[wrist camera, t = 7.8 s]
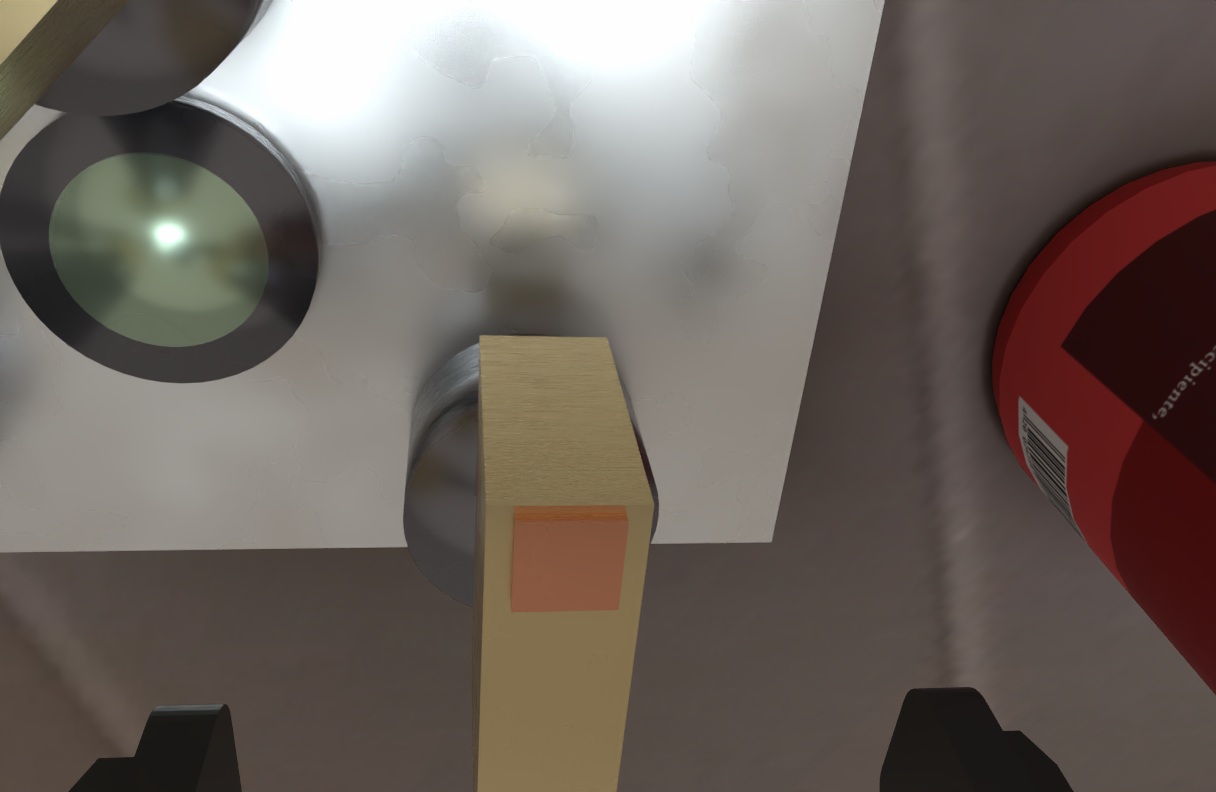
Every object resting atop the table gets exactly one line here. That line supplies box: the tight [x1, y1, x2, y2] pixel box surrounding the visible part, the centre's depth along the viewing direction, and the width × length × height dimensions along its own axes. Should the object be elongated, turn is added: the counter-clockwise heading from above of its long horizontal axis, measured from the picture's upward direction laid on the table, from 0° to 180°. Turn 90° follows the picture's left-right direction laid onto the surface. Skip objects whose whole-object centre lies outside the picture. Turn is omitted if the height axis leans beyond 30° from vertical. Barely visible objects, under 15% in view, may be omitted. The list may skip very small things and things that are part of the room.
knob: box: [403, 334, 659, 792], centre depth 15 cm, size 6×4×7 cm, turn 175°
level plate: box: [0, 0, 885, 552], centre depth 16 cm, size 20×12×2 cm, turn 85°
